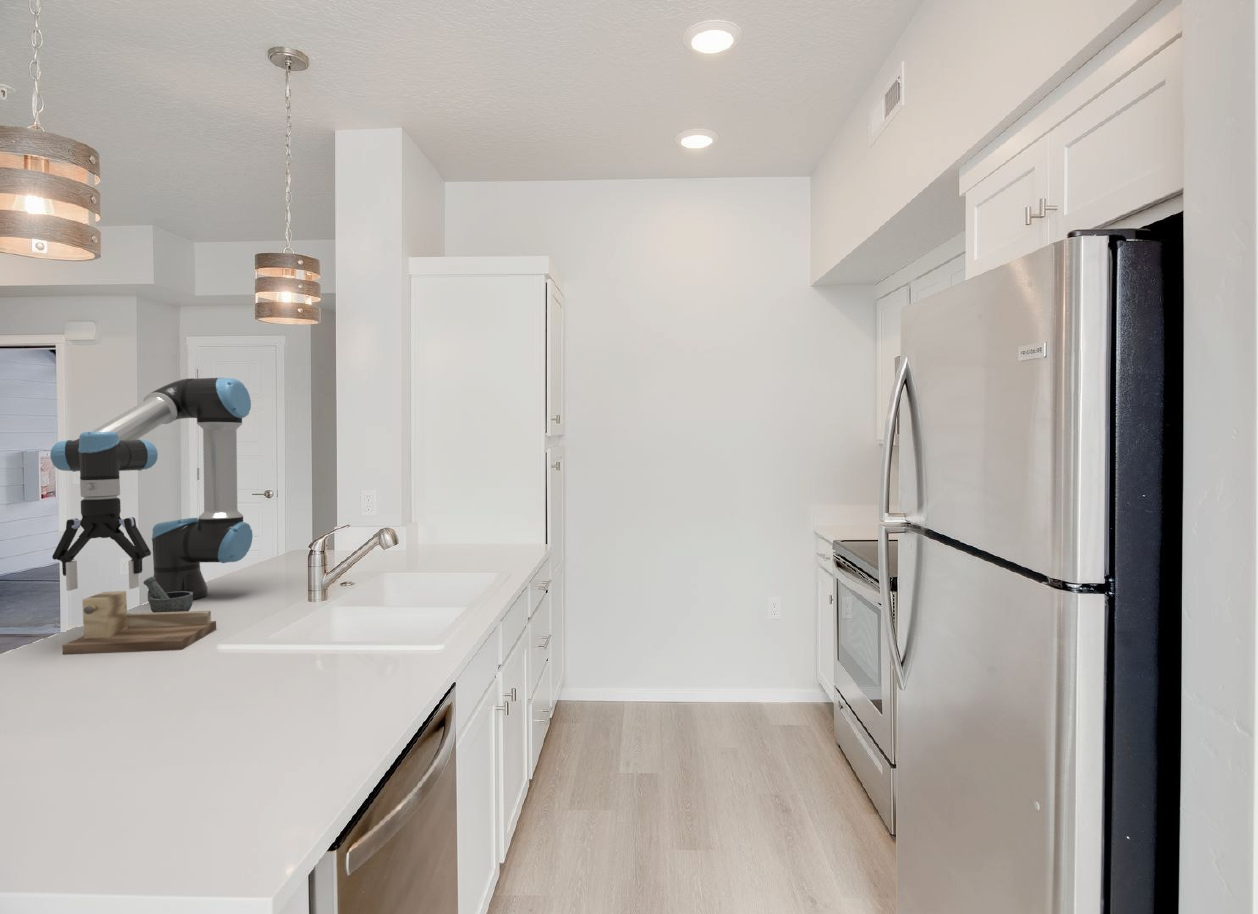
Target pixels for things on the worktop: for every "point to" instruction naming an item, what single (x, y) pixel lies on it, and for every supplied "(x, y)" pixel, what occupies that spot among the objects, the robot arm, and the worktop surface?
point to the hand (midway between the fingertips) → (103, 588)
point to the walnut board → (149, 633)
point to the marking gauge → (104, 614)
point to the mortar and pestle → (167, 598)
